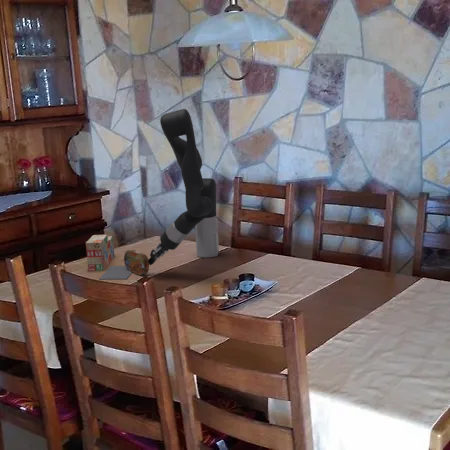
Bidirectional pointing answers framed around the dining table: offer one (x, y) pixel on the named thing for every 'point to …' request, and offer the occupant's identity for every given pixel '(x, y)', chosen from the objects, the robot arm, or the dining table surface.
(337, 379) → the dining table surface
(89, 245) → the stack of blocks
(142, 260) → the tin
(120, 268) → the mat
